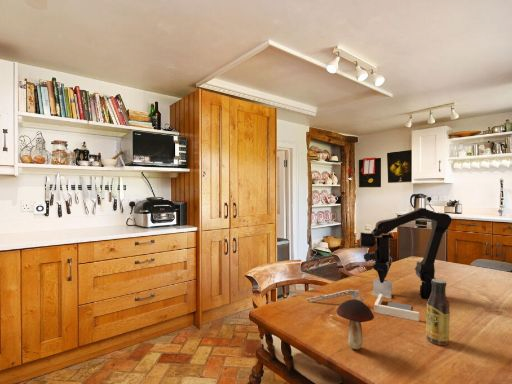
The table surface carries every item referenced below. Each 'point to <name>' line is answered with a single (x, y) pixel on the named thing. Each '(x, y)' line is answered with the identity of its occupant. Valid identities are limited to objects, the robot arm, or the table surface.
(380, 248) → the robot arm
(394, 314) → the white l-shaped block
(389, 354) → the table surface
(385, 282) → the aluminium bracket
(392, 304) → the pad
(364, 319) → the decorative mushroom
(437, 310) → the sauce bottle
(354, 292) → the bracket
